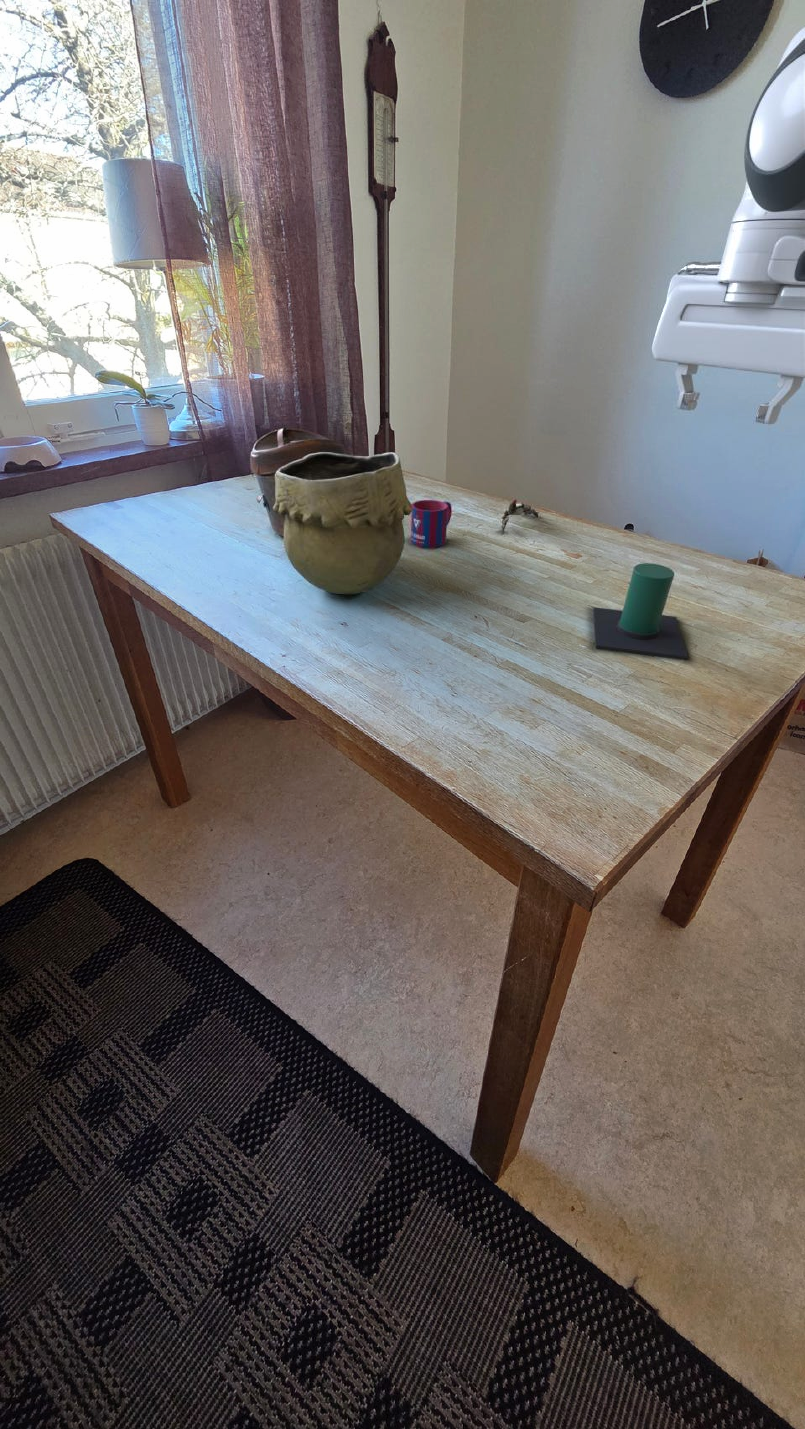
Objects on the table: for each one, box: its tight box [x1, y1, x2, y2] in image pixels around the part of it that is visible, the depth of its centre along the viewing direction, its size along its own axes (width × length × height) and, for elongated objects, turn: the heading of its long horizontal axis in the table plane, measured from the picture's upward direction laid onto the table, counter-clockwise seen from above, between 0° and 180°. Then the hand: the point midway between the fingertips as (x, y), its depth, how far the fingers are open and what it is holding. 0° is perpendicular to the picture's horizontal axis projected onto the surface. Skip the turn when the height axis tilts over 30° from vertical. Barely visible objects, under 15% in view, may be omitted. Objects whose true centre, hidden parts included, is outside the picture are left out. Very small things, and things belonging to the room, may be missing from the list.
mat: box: [592, 607, 689, 661], centre depth 86 cm, size 12×12×1 cm
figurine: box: [499, 499, 540, 533], centre depth 121 cm, size 6×4×15 cm
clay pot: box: [273, 452, 412, 595], centre depth 91 cm, size 21×21×20 cm
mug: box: [410, 499, 453, 549], centre depth 113 cm, size 7×10×7 cm
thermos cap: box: [617, 562, 675, 639], centre depth 83 cm, size 6×6×9 cm
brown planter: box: [249, 426, 348, 537], centre depth 113 cm, size 18×20×18 cm
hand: (723, 416), depth 67 cm, fingers open, 8 cm apart
